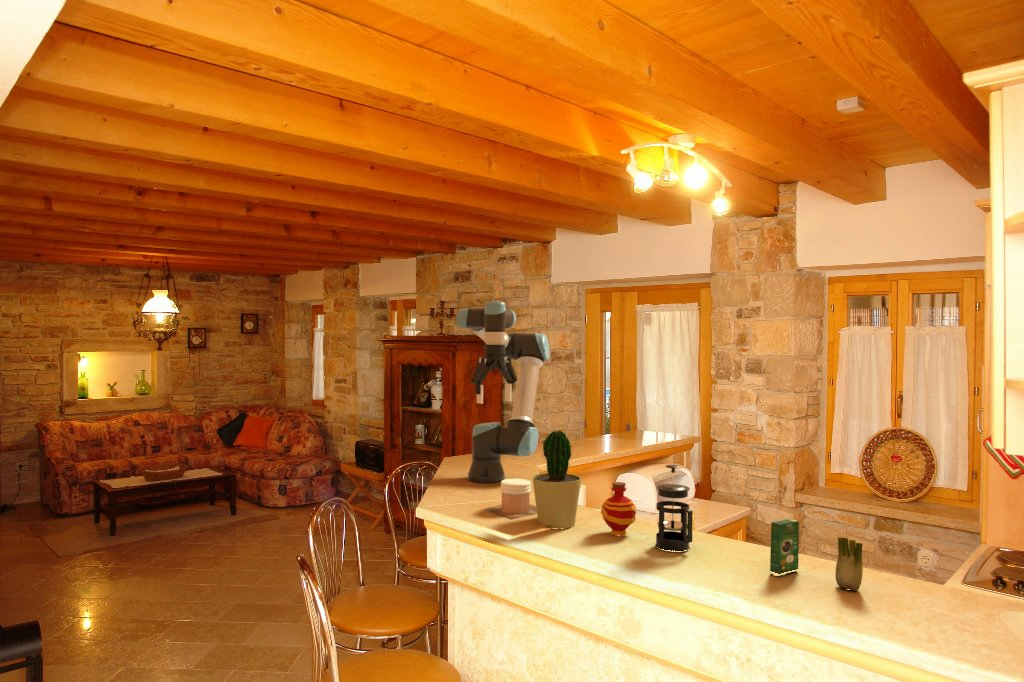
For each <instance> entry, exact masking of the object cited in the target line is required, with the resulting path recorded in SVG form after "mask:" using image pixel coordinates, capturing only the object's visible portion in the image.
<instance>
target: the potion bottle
mask: <svg viewBox="0 0 1024 682" xmlns="http://www.w3.org/2000/svg"><path fill="white" fill-rule="evenodd" d="M611 484H612V487H611V491H613V494H612V495H611V497H607V498H606V499H605V501H604V502H603V503H602V505H601V510H600V514H601V516H602V519H603V521H604V522H605V524H606V525H607V526H608V527H609V528H610V529H611V530H610V532H609V534H610V533H611V534H610V535H612V534H613V535H612V536H614V535H626V534H627V535H628V532H627V529H628V528H629V527H630V526H631V525H633V524H634V523H635V522H636V519H637V517H636V514H637V506H636V504H634V502H633V500H632V499H631V498H629V497H627V496H625V492H626V491H627V487H626V485H627V482H622V481H621V482H620V481H614V482H612V483H611ZM627 535H626V536H627Z"/></svg>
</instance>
